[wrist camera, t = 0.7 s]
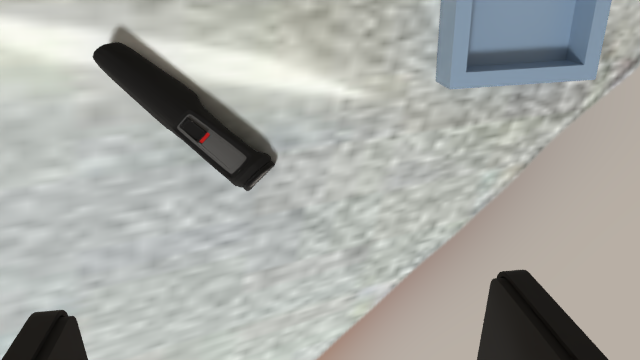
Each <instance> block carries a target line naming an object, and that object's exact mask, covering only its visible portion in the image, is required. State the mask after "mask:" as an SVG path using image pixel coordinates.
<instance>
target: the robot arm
mask: <svg viewBox="0 0 640 360" xmlns="http://www.w3.org/2000/svg"><path fill="white" fill-rule="evenodd" d="M2 360H88V358H87V355H86V351H85V348H84V344H83V341H82V337H81V334H80V330H79V326H78V323H77V320H76V318H75V317H74V316H68V315H67V313H66V312H65V311H64V310H56V311H45V312H35V313H33V314H32V315H31V316H30V317H29V318H28V320H27V321H26V323H25V324H24V326H23V328H22V329H21V331H20V332H19V334H18V335H17V337H16V338H15V340H14V341H13V343H12V345H11V346H10V348H9V349H8V351H7V352H6V354H5V355H4V357H3V358H2ZM477 360H608V359H607V357H605V355H604V354H603V353H602V352H601V351H600V350H599V349H598V348H597V347H596V345H595V344H594V343H593V342H592V341H591V340H590V339H589V338H588V337H587V336H586V334H585V333H584V332H583V331H582V330H581V329H580V328H579V327H578V326H577V325H576V324H575V322H574V321H573V320H572V319H571V318H570V317H569V316H568V315H567V314H566V313H565V312H564V310H563V309H562V308H561V307H560V306H559V305H558V304H557V303H556V302H555V301H554V299H553V298H552V297H551V296H550V295H549V294H548V293H547V292H546V291H545V290H544V289H543V288H542V286H541V285H540V284H539V283H538V282H537V281H536V280H535V279H534V278H533V277H532V276H531V274H530V273H529V272H527V271H526V270H514V271H503V272H500V273H499V274H498V276H497V278H495V279H493V280H492V281H491V284H490V289H489V295H488V301H487V307H486V312H485V318H484V323H483V329H482V335H481V340H480V346H479V352H478V357H477Z"/></svg>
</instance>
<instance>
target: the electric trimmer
mask: <svg viewBox="0 0 640 360" xmlns="http://www.w3.org/2000/svg"><path fill="white" fill-rule="evenodd" d="M93 58H94V60H95V62H96V63H97V64H98V66H99V67H100V68H101V69H102V70H103V71H104V72H105V73H106V74H107V75H108V76H109V77H110V78H111V79H112V80H114V81H115V82H116V83H117V84H118V85H119V86H120V87H121V88H122V89H123V90H124V91H126V92H127V93H128V94H129V95H130V96H131V97H132V98H133V99H134V100H136V101H137V102H138V103H139V104H140V105H141V106H142V107H143V108H144V109H145V110H147V111H148V112H149V113H150V114H151V115H152V116H153V117H154V118H155V119H157V120H158V121H159V122H160V123H161V124H162V125H164V126H165V127H166V128H167V129H169V130H170V131H172V132H173V133H174V134H176V135H177V136H178V137H179V138H181V139H182V140H183V141H184V142H186V143H187V144H188V145H189V146H190V147H191V148H192V149H193V150H195V151H196V152H197V153H198V154H199V155H200V156H201V157H203V158H204V159H205V160H206V161H207V162H208V163H209V164H210V165H212V166H213V167H214V168H215V169H216V170H218V171H219V172H220V173H221V174H222V175H223V176H225V177H226V178H227V179H228V180H229V181H230V182H231V183H232V184H234V185H235V186H238V187H244V189H245V190H246V191H249V190H250V189H252V187H253V186H254V185H255V184H256V183H257V182H258V181H259V180H260V179H261V178H262V177H263V176H264V175H265V174H266V173H267V172H268V171H269V170H270V169H271V168H272V167H273V166H274V165H275V164H274V163H273V162H272V161H271V157H270V156H269V155H268V154H266V153H261V152H257V151H255V150H254V149H252V148H251V147H250V146H248V145H247V144H246V143H244V142H243V141H242V140H240V139H239V138H238V137H237V136H235V135H234V134H233V133H232V132H230V131H229V130H228V129H227V128H226V127H224V126H223V125H222V124H221V123H220V122H219V121H217V120H216V119H215V118H214V117H213V116H212V115H211V114H210V113H209V112H208V111H207V110H206V109H205V108H204V107H203V105H202V104H201V103H200V101H199V99H198V97H197V95H196V94H195V93H194V92H193V91H191V90H190V89H189V88H187V87H186V86H185V85H183V84H182V83H180V82H179V81H178V80H176V79H175V78H173V77H172V76H170V75H169V74H167V73H166V72H164V71H163V70H162V69H160V68H159V67H157V66H156V65H154V64H153V63H151V62H150V61H148V60H147V59H145V58H144V57H143V56H141V55H140V54H138V53H137V52H135V51H134V50H132V49H131V48H129V47H127V46H126V45H124V44H122V43H119V42H116V43H110V44H105V45H103V46H100V47H99V48H98V49H96V51H95V52H94V54H93ZM270 161H271V162H270Z"/></svg>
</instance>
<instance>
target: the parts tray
mask: <svg viewBox="0 0 640 360" xmlns="http://www.w3.org/2000/svg"><path fill="white" fill-rule="evenodd" d="M611 1H612V0H441V9H440V24H439V39H438V54H437V69H436V82H438V83H440V84H441V85H443V86H445V87H447V88H448V89H461V88H476V87H490V86H505V85H520V84H535V83H550V82H565V81H580V80H595V79H596V74H597V69H598V64H599V59H600V54H601V50H602V45H603V40H604V35H605V30H606V25H607V20H608V16H609V11H610V6H611Z"/></svg>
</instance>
